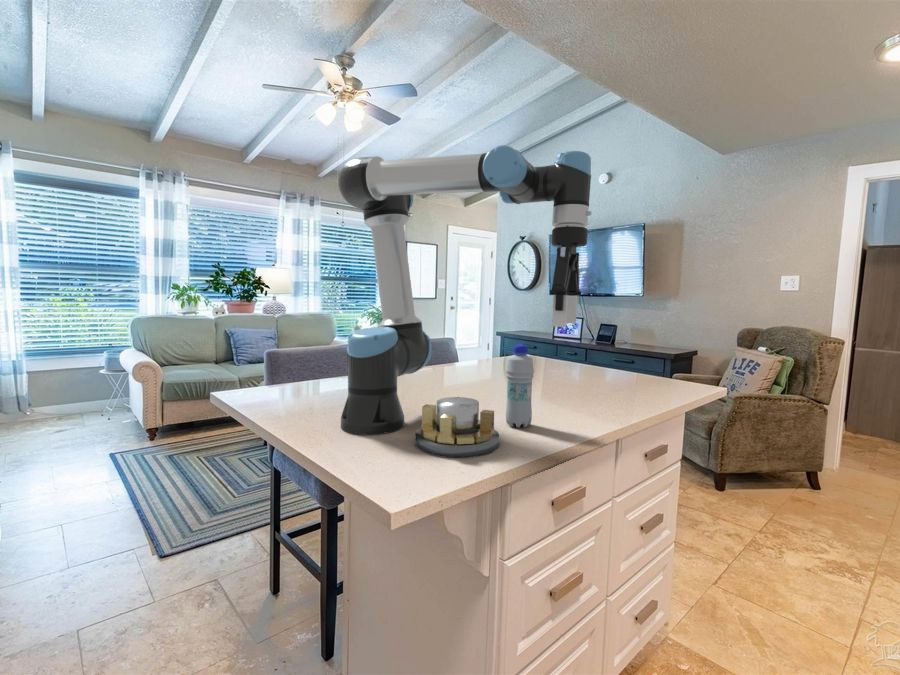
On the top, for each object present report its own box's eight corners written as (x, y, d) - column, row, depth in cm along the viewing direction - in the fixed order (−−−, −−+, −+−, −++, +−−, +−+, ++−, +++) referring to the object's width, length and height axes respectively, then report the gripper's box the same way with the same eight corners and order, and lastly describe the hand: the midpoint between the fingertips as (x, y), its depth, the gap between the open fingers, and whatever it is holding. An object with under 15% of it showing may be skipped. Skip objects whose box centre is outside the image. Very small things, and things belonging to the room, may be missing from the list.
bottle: (531, 430, 107) (534, 346, 106) (503, 428, 109) (505, 345, 107) (532, 422, 114) (535, 343, 112) (505, 420, 115) (507, 342, 114)
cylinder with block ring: (409, 438, 93) (410, 414, 92) (436, 419, 107) (436, 398, 107) (483, 447, 88) (483, 421, 87) (500, 426, 102) (500, 403, 102)
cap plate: (401, 451, 92) (401, 407, 91) (433, 427, 109) (433, 390, 108) (487, 462, 86) (488, 416, 85) (507, 435, 103) (507, 396, 102)
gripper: (578, 217, 86) (572, 329, 88) (594, 234, 109) (589, 322, 111) (539, 219, 89) (534, 327, 91) (563, 235, 112) (558, 321, 114)
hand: (564, 325), depth 101 cm, fingers open, 13 cm apart
